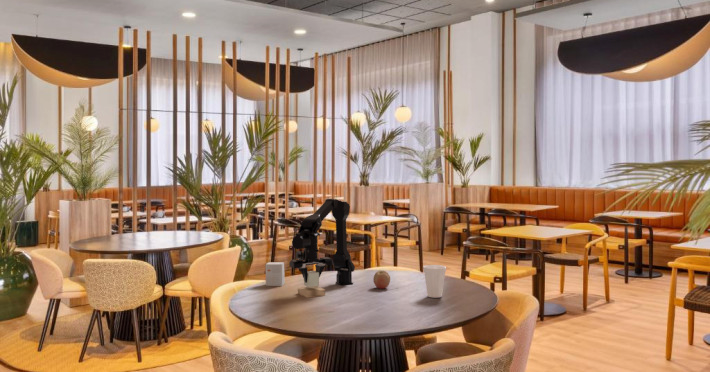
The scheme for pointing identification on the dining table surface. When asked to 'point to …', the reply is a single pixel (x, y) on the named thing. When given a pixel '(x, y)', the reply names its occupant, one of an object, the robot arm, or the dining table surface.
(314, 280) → the sage cube
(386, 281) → the fruit
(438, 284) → the cup
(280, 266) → the small box
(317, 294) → the oak block
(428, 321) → the dining table surface
